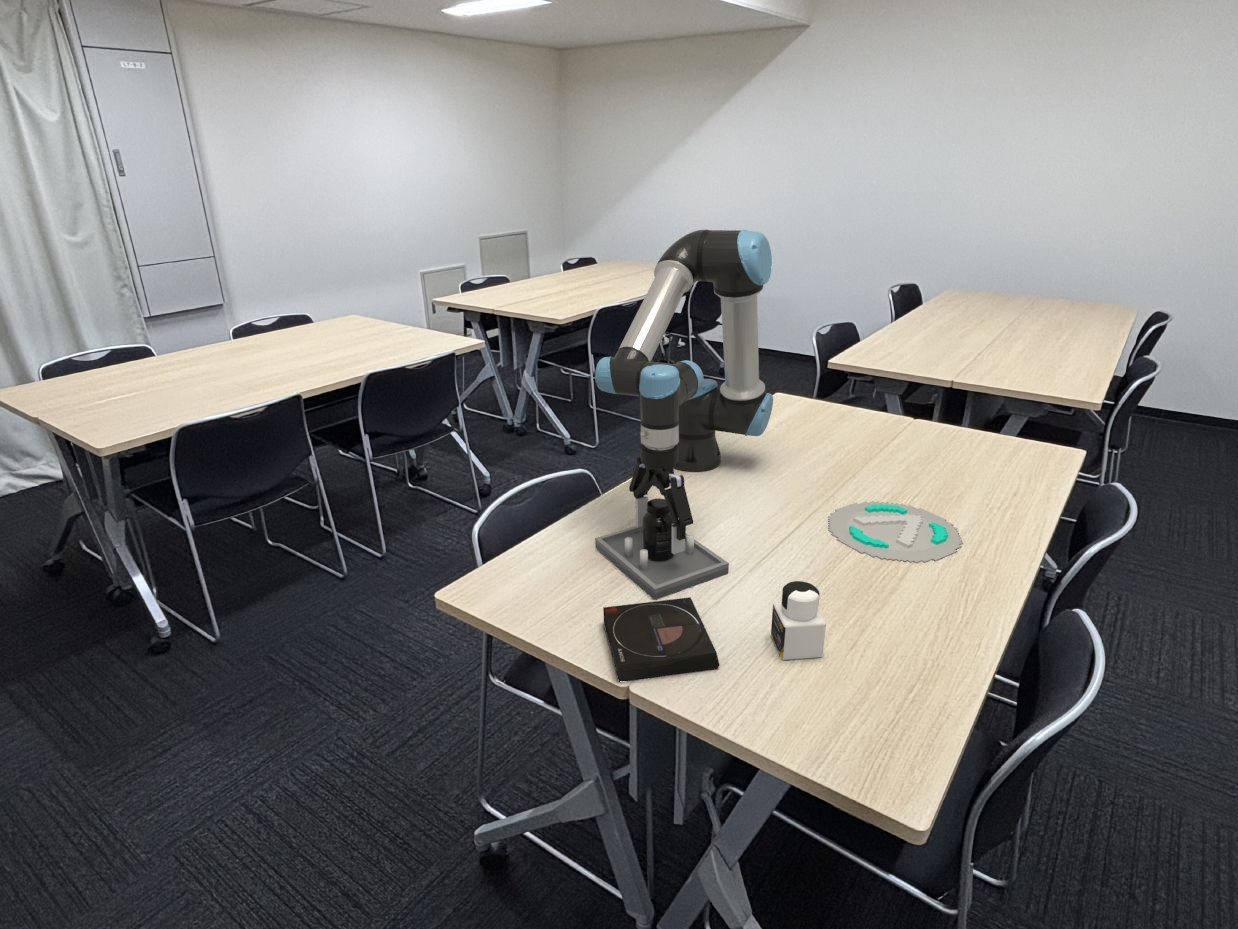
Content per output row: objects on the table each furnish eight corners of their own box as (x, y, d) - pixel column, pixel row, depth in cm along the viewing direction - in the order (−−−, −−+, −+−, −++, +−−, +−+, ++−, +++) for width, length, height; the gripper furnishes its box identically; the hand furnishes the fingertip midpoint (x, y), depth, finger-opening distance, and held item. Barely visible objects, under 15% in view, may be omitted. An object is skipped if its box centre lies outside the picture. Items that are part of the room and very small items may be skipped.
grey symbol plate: (987, 541, 157) (988, 534, 156) (901, 577, 144) (902, 571, 143) (884, 495, 179) (885, 489, 178) (802, 523, 166) (803, 517, 165)
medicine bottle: (770, 635, 127) (774, 577, 122) (809, 632, 127) (814, 575, 122) (781, 661, 120) (786, 601, 115) (823, 658, 120) (829, 598, 116)
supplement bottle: (678, 548, 153) (679, 498, 148) (670, 564, 147) (670, 512, 142) (648, 543, 155) (647, 494, 150) (638, 559, 149) (638, 508, 144)
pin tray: (595, 548, 157) (594, 526, 154) (663, 527, 165) (663, 505, 163) (654, 600, 138) (654, 575, 135) (728, 573, 146) (729, 550, 144)
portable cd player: (719, 671, 119) (720, 651, 117) (618, 684, 116) (618, 665, 115) (693, 614, 134) (693, 596, 132) (603, 625, 131) (603, 607, 130)
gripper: (611, 429, 149) (614, 519, 157) (680, 468, 129) (678, 569, 137) (642, 422, 152) (642, 510, 161) (713, 460, 133) (709, 558, 141)
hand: (659, 538), depth 149 cm, fingers open, 13 cm apart
